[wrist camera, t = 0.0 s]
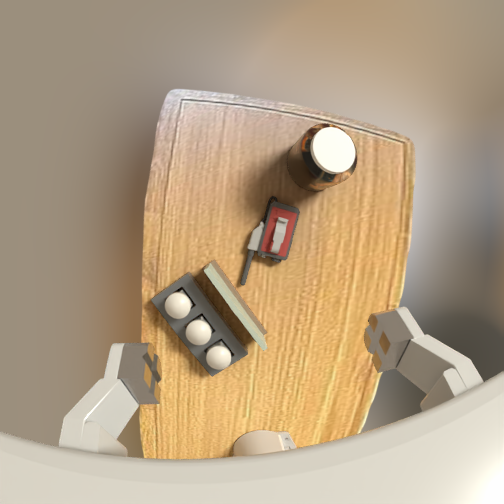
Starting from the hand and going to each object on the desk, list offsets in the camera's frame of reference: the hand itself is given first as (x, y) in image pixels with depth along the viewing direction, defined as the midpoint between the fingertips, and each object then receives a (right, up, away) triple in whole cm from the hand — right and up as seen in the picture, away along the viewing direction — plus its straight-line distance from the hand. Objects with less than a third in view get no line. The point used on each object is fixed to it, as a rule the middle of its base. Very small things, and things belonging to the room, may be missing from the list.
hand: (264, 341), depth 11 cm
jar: (+13, +23, +54) cm, 60 cm away
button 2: (-8, -19, +54) cm, 58 cm away
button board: (-12, -13, +55) cm, 58 cm away
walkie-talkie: (+3, +5, +55) cm, 55 cm away
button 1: (-16, -7, +52) cm, 55 cm away
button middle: (-12, -13, +53) cm, 56 cm away
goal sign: (-4, -7, +55) cm, 56 cm away
